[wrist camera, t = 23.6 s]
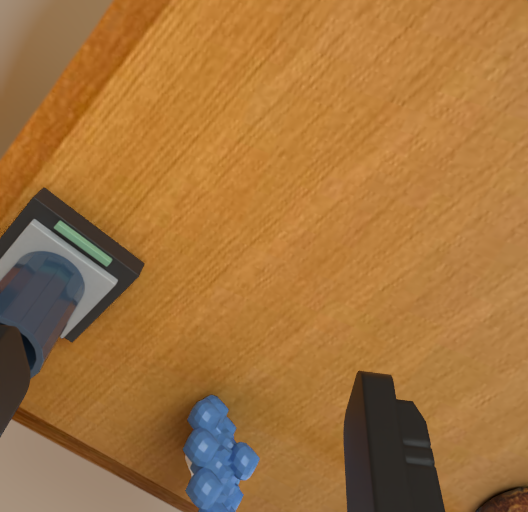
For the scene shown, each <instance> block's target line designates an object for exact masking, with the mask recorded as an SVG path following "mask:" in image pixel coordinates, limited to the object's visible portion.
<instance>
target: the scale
mask: <svg viewBox="0 0 528 512" xmlns="http://www.w3.org/2000/svg"><path fill="white" fill-rule="evenodd" d="M34 251H48V252H52V253H56V254H58V255H61V256H63V257H65V258H66V259H68V260H69V261H70V262H72V263H73V264H74V265H75V266H76V267H77V269H78V270H79V271H80V273H81V275H82V277H83V279H84V283H85V292H84V296H83V298H82V300H81V301H80V303H79V306H78V307H77V309H76V311H75V312H74V314H73V316H72V317H71V319H70V321H69V323H68V324H67V326H66V328H65V329H64V331H63V333H62V334H61V336H60V338H62V339H63V338H66V339H67V340H69V341H70V342H73V341H74V340H75V339H76V338H77V337H78V336H79V335H80V334H81V333H82V332H83V331H84V330H85V329H86V328H87V327H88V326H89V325H90V324H91V323H92V322H93V321H94V320H95V319H96V318H97V317H98V316H99V315H100V314H101V313H102V312H103V311H104V310H105V309H106V308H107V307H108V306H109V305H110V304H111V303H112V302H113V301H114V300H115V299H116V298H117V297H119V296H120V295H121V294H122V293H123V292H124V291H125V290H126V289H127V288H128V287H129V286H130V285H131V284H132V283H133V282H134V281H135V280H136V279H137V278H138V277H139V275H140V273H141V271H142V268H143V266H144V263H143V262H142V261H140V260H139V259H138V258H136V257H135V256H134V255H132V254H131V253H130V252H129V251H127V250H126V249H125V248H123V247H122V246H121V245H119V244H118V243H117V242H115V241H114V240H113V239H111V238H110V237H109V236H107V235H106V234H105V233H104V232H102V231H101V230H100V229H98V228H97V227H96V226H94V225H93V224H92V223H90V222H89V221H88V220H86V219H85V218H84V217H82V216H81V215H80V214H79V213H77V212H76V211H75V210H73V209H72V208H71V207H69V206H68V205H67V204H65V203H64V202H63V201H61V200H60V199H59V198H57V197H56V196H55V195H54V194H52V193H51V192H50V191H48V190H47V189H46V188H43V189H41V190H40V191H39V192H38V193H37V194H36V195H35V196H34V197H33V198H32V199H31V201H30V202H29V203H28V204H27V206H26V207H25V208H24V209H23V211H22V212H21V213H20V214H19V216H18V217H17V218H16V219H15V221H14V222H13V223H12V224H11V226H10V227H9V228H8V229H7V231H6V232H5V233H4V234H3V236H2V237H1V238H0V278H1V277H2V276H3V275H4V274H5V273H6V272H7V271H8V270H9V268H10V267H11V266H12V265H13V264H14V263H16V261H17V260H18V259H19V258H20V257H22V256H23V255H25V254H27V253H30V252H34Z"/></svg>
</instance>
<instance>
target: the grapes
mask: <svg viewBox="0 0 528 512" xmlns="http://www.w3.org/2000/svg"><path fill="white" fill-rule="evenodd" d="M227 413H228V408H227V407H226V406H225V404H224V403H223V402H222V401H221V400H220V399H219V398H218V397H217V396H214V395H210V396H208V397H206V398H204V399H203V400H200V401H198V402H197V403H196V404H195V405H194V407H193V408H192V410H191V412H190V415H189V417H188V419H187V421H188V422H189V424H190V425H191V427H192V428H193V429H194V430H193V431H192V432H191V434H190V435H189V437H188V439H187V441H186V443H185V445H184V448H183V451H184V453H185V454H186V456H187V457H188V459H189V460H190V461H191V462H192V464H191V467H190V469H191V471H192V472H193V476H192V478H191V479H190V481H189V483H188V486H187V488H186V490H185V491H186V493H187V494H188V496H189V497H190V499H191V500H192V502H193V503H194V504H195V505H196V506H197V507H198V508H200V509H199V511H198V512H235V511H236V509H237V507H238V506H239V504H240V502H241V500H242V497H243V494H242V492H241V491H240V489H239V488H240V487H239V486H238V484H239V482H240V480H247V479H248V478H249V477H251V475H252V473H253V471H254V470H255V468H256V466H257V464H258V461H259V459H260V458H259V457H258V456H257V454H256V453H255V452H254V451H253V450H252V449H251V448H250V447H249V446H248V445H247V444H246V443H243V442H239V443H236V442H235V440H234V439H233V438H234V436H233V434H234V432H235V430H236V427H235V425H234V424H233V423H232V421H231V420H230V419H229V418H228V417H227V416H226V415H227Z"/></svg>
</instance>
